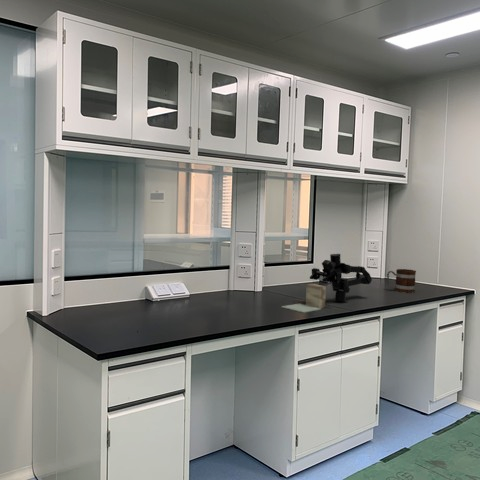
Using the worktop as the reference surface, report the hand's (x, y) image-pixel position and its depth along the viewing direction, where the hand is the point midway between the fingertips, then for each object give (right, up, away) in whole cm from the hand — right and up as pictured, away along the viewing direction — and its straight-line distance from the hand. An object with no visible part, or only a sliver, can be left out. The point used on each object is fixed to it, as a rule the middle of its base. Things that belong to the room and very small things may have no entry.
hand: (316, 279), depth 269 cm
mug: (+70, -14, +64) cm, 96 cm away
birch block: (0, -16, +1) cm, 16 cm away
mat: (-9, -16, -7) cm, 20 cm away
